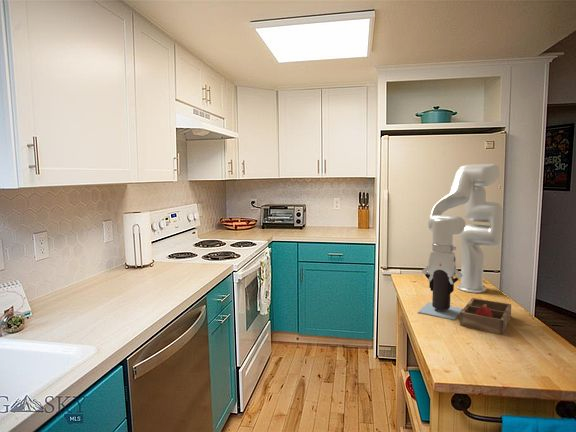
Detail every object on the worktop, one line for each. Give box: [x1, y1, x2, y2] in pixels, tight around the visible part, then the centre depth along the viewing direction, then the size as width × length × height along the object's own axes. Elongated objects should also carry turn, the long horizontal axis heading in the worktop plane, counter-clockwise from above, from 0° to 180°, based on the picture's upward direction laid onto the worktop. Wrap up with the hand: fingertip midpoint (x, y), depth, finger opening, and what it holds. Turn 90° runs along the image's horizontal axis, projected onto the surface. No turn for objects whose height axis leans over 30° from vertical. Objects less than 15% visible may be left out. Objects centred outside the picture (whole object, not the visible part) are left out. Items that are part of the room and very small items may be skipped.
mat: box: [417, 301, 464, 321], centre depth 156 cm, size 14×14×1 cm
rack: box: [459, 297, 512, 335], centre depth 144 cm, size 20×14×5 cm
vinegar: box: [431, 261, 451, 310], centre depth 154 cm, size 7×7×20 cm
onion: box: [475, 304, 493, 318], centre depth 140 cm, size 6×6×8 cm
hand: (441, 291), depth 155 cm, fingers closed on vinegar, 6 cm apart
